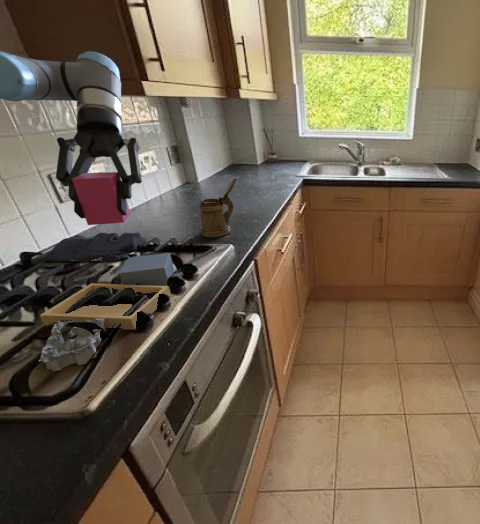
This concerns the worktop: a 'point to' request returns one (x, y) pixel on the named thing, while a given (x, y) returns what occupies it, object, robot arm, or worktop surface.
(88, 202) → the pink block
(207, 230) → the wooden mug
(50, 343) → the grey lumpy chunk
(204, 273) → the worktop surface
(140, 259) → the grey block
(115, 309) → the tray
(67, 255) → the dark slate chunk
